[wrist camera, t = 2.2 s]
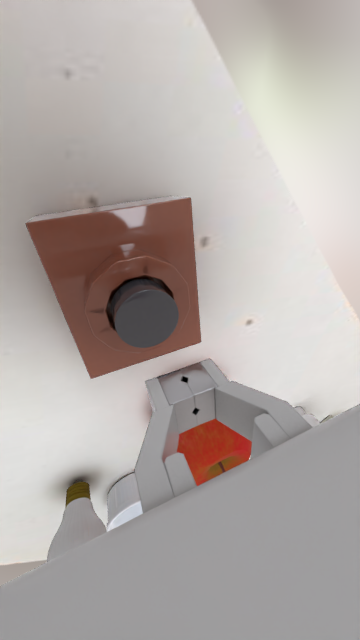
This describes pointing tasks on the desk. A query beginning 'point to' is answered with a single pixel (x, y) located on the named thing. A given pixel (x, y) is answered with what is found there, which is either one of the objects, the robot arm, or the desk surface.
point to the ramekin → (123, 502)
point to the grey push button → (144, 313)
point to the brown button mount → (119, 272)
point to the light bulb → (76, 522)
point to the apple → (213, 449)
